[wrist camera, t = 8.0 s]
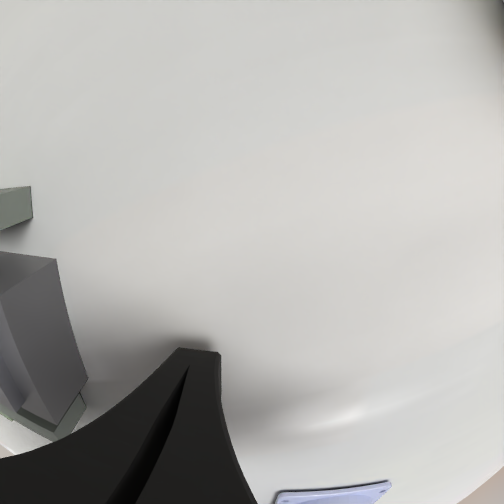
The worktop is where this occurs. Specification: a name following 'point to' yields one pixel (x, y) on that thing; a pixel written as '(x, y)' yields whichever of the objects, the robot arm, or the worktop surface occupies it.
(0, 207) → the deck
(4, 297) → the dark grey block
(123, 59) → the worktop surface
